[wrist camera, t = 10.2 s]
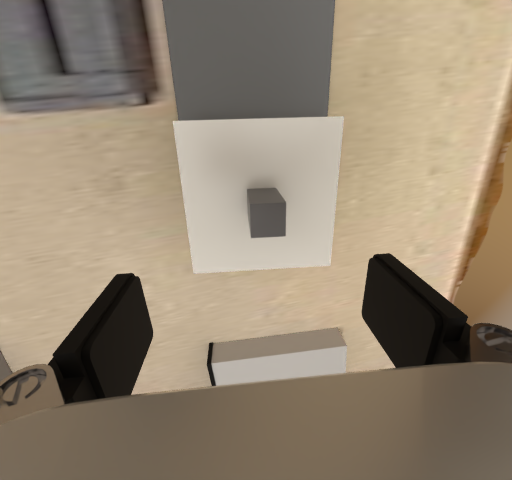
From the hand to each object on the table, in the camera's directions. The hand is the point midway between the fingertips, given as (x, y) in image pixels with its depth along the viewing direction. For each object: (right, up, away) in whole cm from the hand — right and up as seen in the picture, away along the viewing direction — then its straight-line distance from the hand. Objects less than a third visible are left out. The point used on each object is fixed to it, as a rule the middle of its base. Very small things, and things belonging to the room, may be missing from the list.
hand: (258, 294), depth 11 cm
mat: (-1, +25, +18) cm, 31 cm away
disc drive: (+4, -22, +39) cm, 45 cm away
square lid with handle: (0, +6, +17) cm, 19 cm away
